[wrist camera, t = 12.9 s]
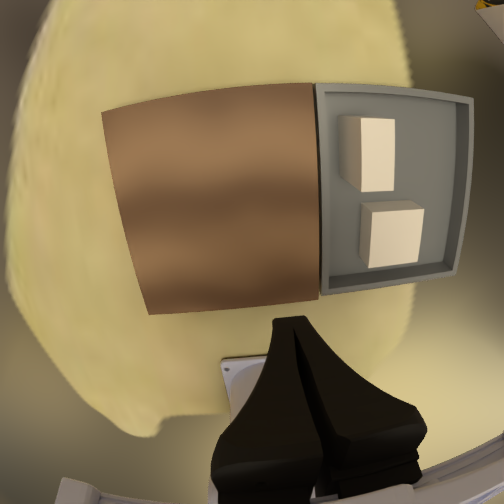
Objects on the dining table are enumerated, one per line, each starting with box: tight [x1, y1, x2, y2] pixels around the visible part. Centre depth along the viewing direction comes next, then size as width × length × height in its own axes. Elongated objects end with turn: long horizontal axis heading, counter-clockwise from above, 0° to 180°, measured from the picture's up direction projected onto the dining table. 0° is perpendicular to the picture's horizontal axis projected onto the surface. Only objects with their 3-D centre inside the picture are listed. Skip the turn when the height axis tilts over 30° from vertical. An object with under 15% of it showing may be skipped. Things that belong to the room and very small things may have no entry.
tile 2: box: [359, 200, 424, 268], centre depth 20 cm, size 4×4×2 cm
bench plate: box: [101, 83, 319, 315], centre depth 19 cm, size 14×12×2 cm
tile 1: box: [338, 115, 395, 192], centre depth 17 cm, size 4×4×2 cm
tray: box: [312, 83, 474, 296], centre depth 19 cm, size 14×12×2 cm
